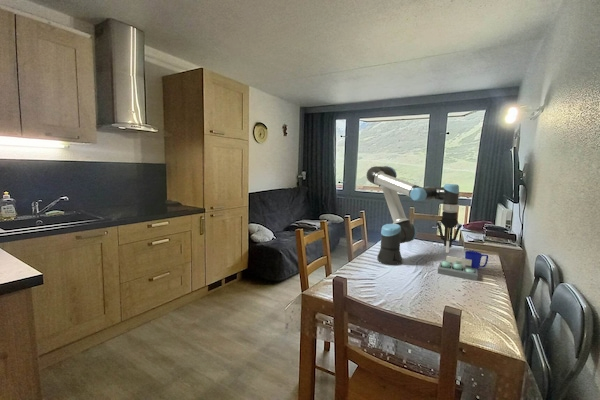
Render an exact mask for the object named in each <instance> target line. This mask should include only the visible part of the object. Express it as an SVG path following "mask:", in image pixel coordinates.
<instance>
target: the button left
mask: <svg viewBox="0 0 600 400" xmlns="http://www.w3.org/2000/svg"><path fill="white" fill-rule="evenodd" d="M441 262H442V267H444V268H450V262H448V261H446V260H442V261H441Z"/></svg>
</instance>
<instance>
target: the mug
mask: <svg viewBox="0 0 600 400" xmlns="http://www.w3.org/2000/svg"><path fill="white" fill-rule="evenodd" d="M464 255H465V257H464V259H470V260H472V264H471V268H477V271H479V269H480V268H485V267H486V266H487V264H488V260H489V255H487V254H484V253H483V254H482V253H481V252H478V251H476V250H475V251H474V250H465V252H464ZM482 257H486V259H485V262H484V264H483V265H481V260H482Z"/></svg>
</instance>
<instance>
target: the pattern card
mask: <svg viewBox="0 0 600 400" xmlns="http://www.w3.org/2000/svg"><path fill="white" fill-rule="evenodd" d="M445 261H448V262H450V264H453V265H454V263H460V264H462V266H465V267H471V264H472V260H470V259H465V258H463V257H462V258H461V257H455V256H449V255H446V258H445Z"/></svg>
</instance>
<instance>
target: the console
mask: <svg viewBox="0 0 600 400" xmlns="http://www.w3.org/2000/svg"><path fill="white" fill-rule="evenodd" d="M466 268H470V269H473V270H475V273H472V272H466V271H465V269H466ZM437 274H438V275H439V274H440V275H444V276H450V277H455V278H459V279H466V280H468V281H474V282H478V276H479V275H478V274H479V273H478V270H477V268H471V267H465V266H462V271H461V270H455V269H453V264H450V268H444V267H442V261H441V262H440V261H439V264H438V267H437Z"/></svg>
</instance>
